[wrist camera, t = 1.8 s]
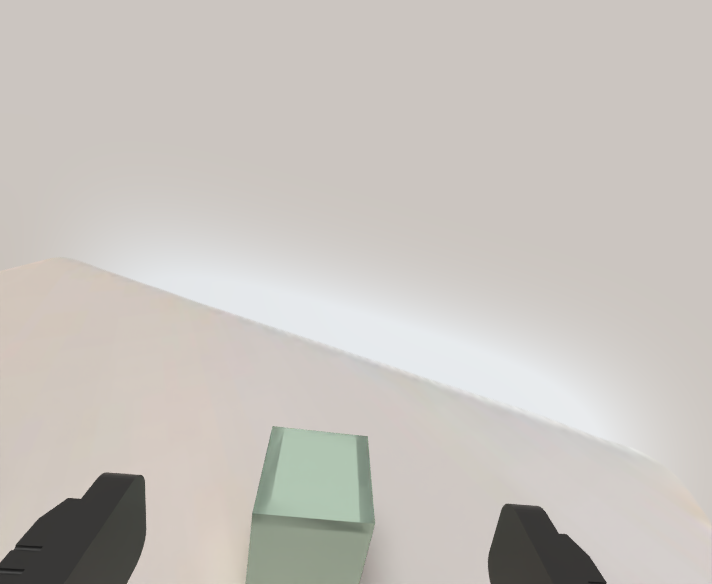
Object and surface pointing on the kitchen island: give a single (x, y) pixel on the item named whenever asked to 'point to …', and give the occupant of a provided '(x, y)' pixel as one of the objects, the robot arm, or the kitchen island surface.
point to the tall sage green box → (312, 509)
